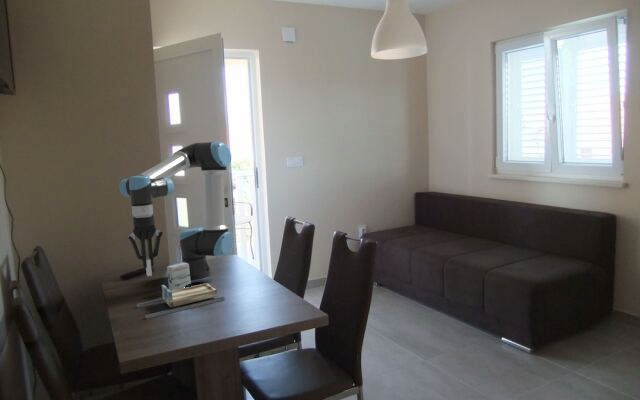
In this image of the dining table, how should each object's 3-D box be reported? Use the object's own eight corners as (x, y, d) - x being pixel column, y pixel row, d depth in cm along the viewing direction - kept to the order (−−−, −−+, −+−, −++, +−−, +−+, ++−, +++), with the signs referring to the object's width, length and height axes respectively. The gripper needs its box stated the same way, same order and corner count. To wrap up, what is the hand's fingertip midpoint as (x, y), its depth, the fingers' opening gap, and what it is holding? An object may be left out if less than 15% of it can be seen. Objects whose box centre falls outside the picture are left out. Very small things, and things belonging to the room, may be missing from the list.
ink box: (186, 286, 210) (184, 261, 208) (191, 289, 206) (189, 263, 205) (168, 292, 204) (166, 266, 202) (173, 294, 200) (171, 267, 199)
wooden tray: (163, 302, 190) (161, 285, 189) (207, 292, 201) (206, 275, 200) (171, 310, 180) (169, 292, 179) (217, 299, 191) (216, 282, 190)
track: (137, 306, 187) (137, 304, 187) (211, 290, 203) (210, 287, 203) (146, 318, 174) (146, 315, 173) (224, 300, 190) (224, 297, 190)
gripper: (127, 219, 171) (133, 280, 174) (163, 214, 178) (168, 274, 181) (123, 217, 177) (129, 276, 180) (158, 212, 184) (163, 269, 187)
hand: (149, 275), depth 181 cm, fingers closed
